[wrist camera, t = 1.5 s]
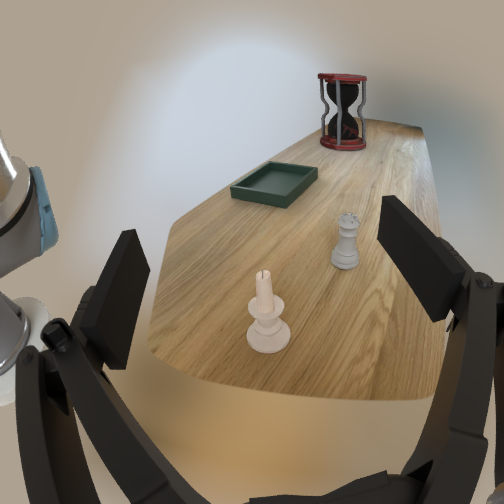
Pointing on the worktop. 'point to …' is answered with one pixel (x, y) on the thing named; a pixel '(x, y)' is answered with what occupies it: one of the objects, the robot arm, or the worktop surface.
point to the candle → (267, 318)
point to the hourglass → (343, 111)
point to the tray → (275, 184)
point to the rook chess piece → (346, 243)
